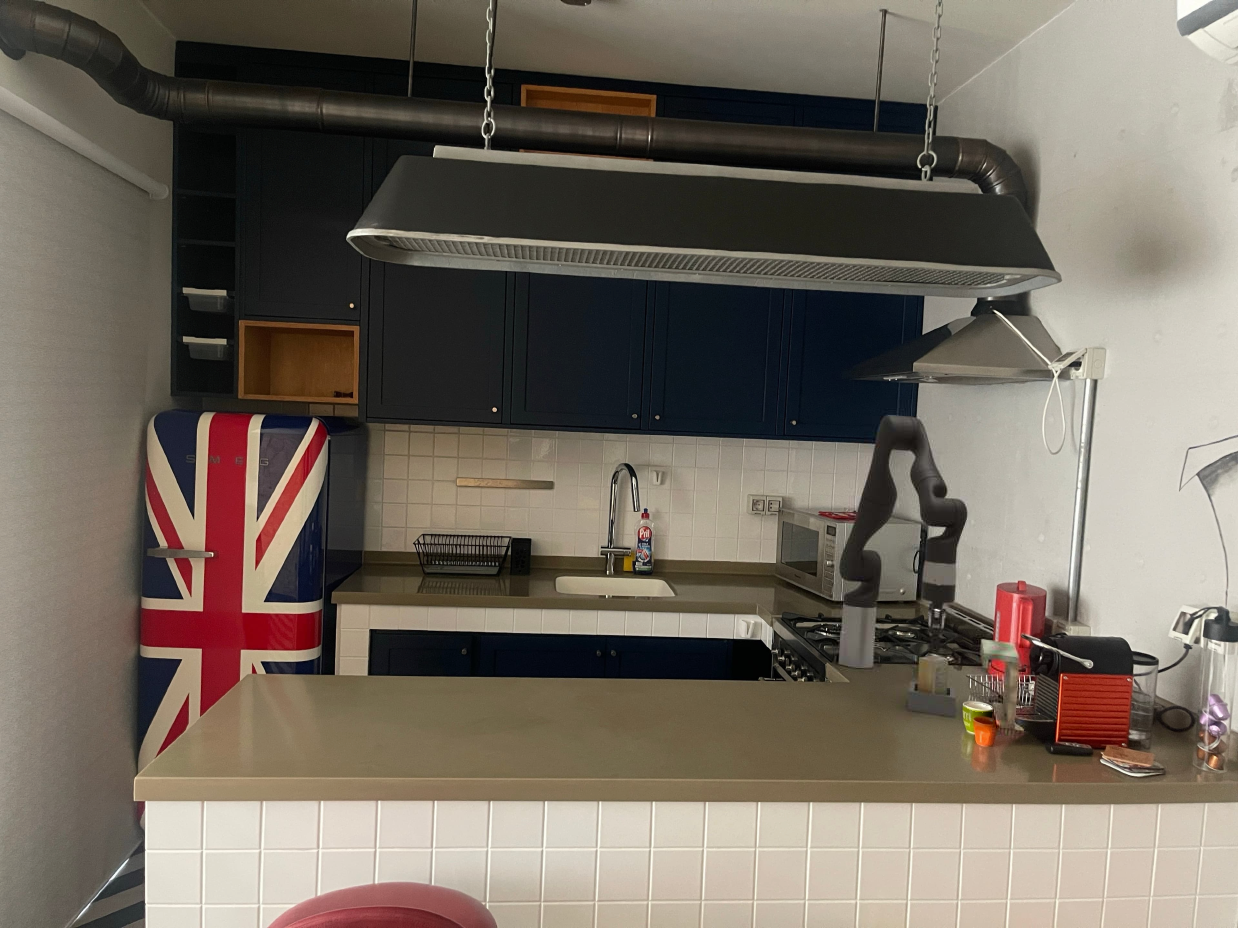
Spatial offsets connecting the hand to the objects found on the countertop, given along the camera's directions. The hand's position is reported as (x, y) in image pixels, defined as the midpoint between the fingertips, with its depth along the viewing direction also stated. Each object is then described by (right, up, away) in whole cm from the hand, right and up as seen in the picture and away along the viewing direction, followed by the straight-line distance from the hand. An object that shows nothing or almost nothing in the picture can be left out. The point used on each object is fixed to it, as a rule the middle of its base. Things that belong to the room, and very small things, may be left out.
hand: (934, 648), depth 207 cm
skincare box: (-1, -15, 0) cm, 15 cm away
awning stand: (+14, -15, -5) cm, 21 cm away
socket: (-1, -14, 0) cm, 14 cm away
